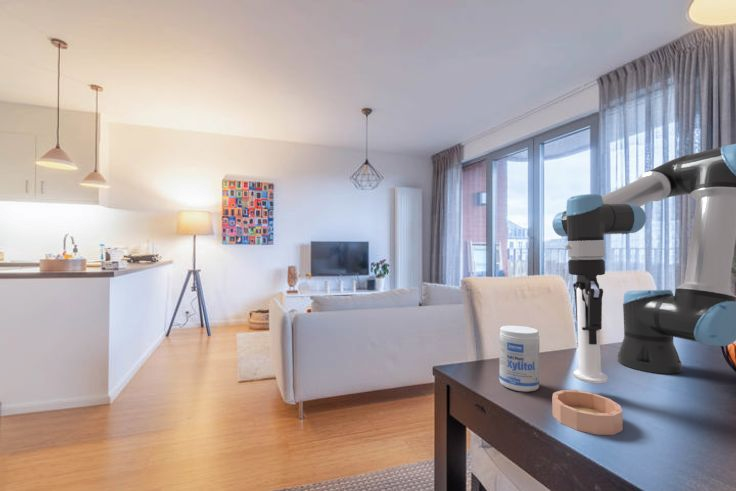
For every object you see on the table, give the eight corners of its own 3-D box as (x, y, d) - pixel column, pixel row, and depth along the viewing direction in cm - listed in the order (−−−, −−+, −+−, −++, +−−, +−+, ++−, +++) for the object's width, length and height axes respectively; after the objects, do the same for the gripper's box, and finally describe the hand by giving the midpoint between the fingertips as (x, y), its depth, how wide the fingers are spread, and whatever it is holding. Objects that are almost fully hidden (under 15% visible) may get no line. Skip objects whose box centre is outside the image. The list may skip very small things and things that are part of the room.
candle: (613, 384, 79) (609, 276, 78) (578, 382, 81) (575, 277, 80) (600, 373, 86) (597, 273, 85) (569, 371, 87) (566, 274, 87)
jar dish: (596, 406, 77) (595, 390, 77) (637, 434, 65) (637, 415, 65) (542, 406, 77) (541, 390, 77) (573, 434, 65) (573, 415, 65)
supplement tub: (508, 393, 84) (507, 333, 84) (494, 378, 94) (493, 325, 94) (547, 393, 84) (546, 333, 84) (529, 378, 93) (528, 325, 94)
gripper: (560, 258, 92) (563, 346, 91) (578, 259, 77) (582, 364, 77) (592, 257, 90) (595, 347, 89) (617, 259, 75) (621, 366, 75)
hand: (589, 355), depth 83 cm, fingers closed on candle, 2 cm apart
